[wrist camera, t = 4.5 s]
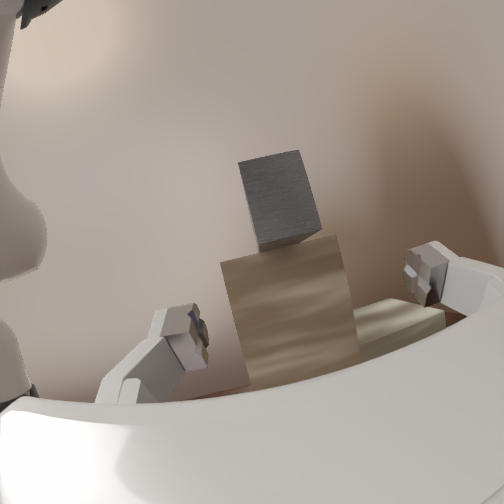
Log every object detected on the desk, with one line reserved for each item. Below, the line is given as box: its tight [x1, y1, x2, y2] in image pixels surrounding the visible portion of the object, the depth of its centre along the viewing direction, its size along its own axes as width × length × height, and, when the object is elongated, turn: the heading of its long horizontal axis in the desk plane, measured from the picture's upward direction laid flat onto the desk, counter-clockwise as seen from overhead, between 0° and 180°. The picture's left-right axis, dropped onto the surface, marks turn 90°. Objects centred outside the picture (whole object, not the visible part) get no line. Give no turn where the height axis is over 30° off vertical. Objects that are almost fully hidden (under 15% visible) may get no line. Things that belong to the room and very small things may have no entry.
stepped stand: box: [220, 234, 446, 391], centre depth 25 cm, size 12×18×24 cm, turn 88°
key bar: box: [238, 150, 322, 253], centre depth 22 cm, size 19×3×4 cm, turn 178°
